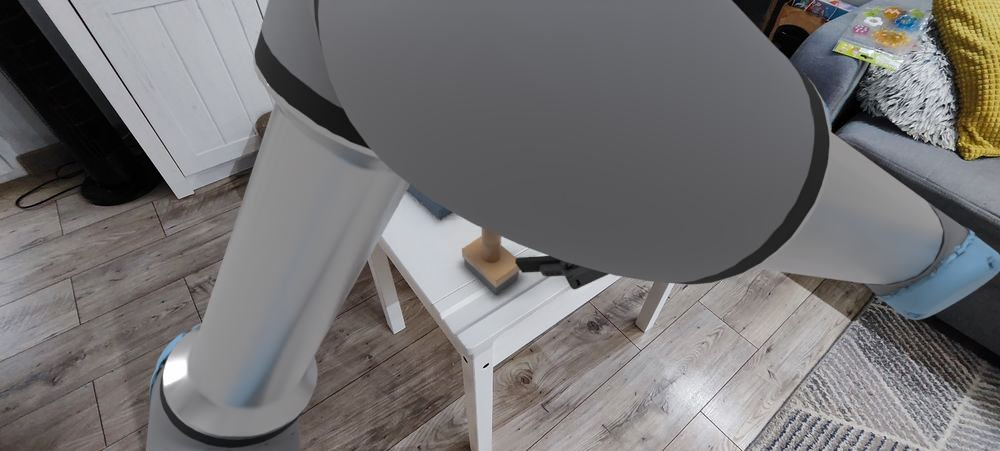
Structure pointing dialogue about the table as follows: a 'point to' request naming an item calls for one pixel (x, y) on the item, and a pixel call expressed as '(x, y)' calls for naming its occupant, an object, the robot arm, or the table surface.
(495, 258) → the wooden rubber stamp
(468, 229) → the table surface
